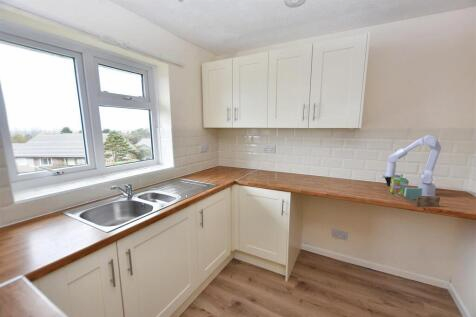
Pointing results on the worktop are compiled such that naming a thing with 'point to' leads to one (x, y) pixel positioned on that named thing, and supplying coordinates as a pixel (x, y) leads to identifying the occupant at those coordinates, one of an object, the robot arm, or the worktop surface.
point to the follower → (413, 193)
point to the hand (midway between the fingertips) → (388, 186)
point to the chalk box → (398, 185)
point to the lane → (421, 200)
